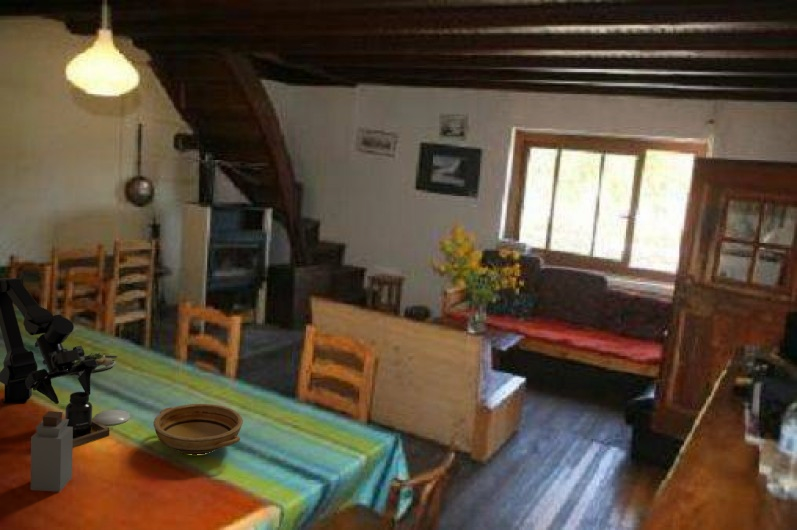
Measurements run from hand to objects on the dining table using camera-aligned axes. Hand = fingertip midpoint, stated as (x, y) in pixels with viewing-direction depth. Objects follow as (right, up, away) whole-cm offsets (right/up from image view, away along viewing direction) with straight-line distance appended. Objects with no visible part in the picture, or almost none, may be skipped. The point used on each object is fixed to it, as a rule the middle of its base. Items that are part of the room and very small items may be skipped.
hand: (73, 399), depth 183 cm
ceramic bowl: (+35, -14, +1) cm, 38 cm away
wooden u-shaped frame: (+1, -10, 0) cm, 10 cm away
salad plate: (-22, +1, +52) cm, 57 cm away
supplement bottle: (+1, -10, 0) cm, 10 cm away
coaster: (+5, -8, +13) cm, 16 cm away
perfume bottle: (+7, -16, -25) cm, 31 cm away
